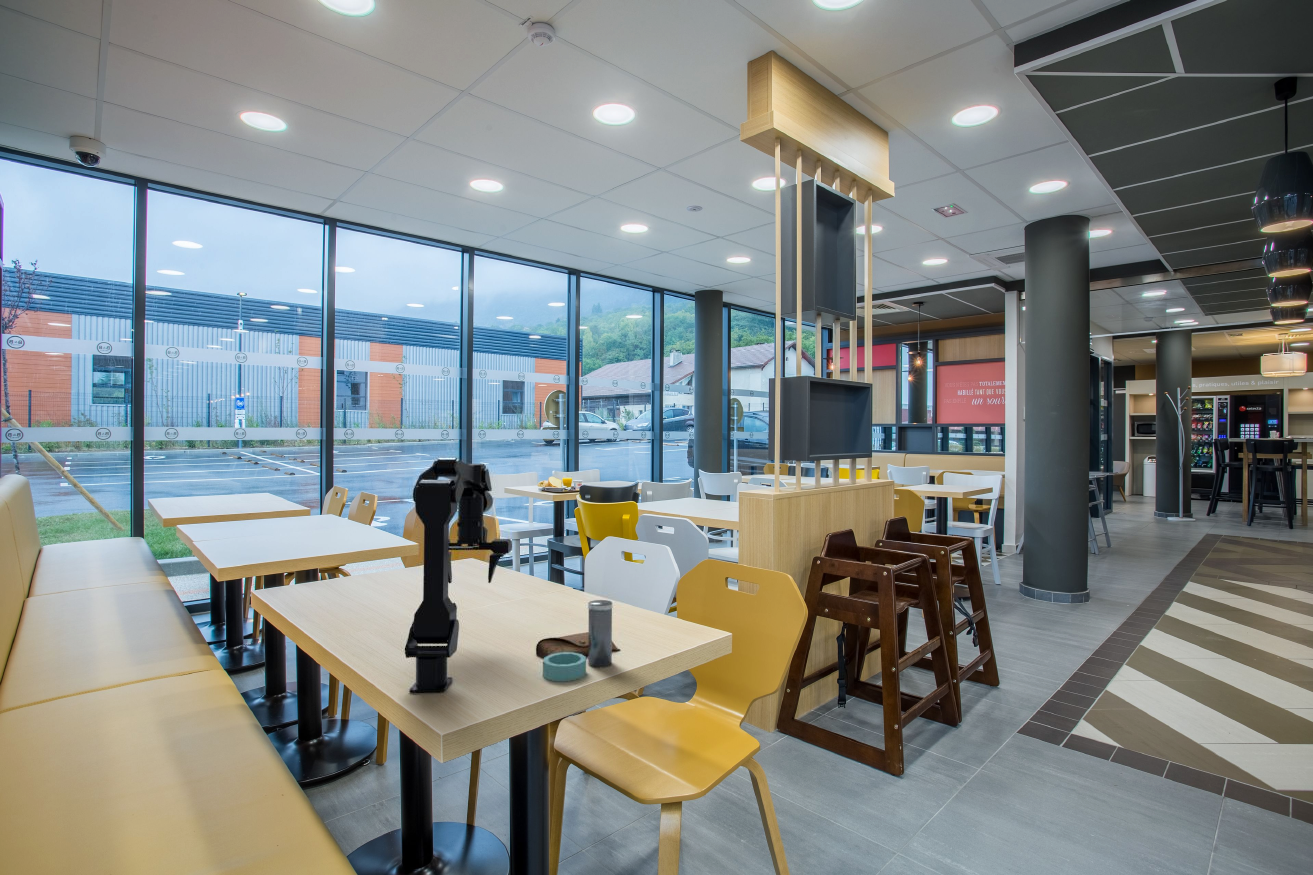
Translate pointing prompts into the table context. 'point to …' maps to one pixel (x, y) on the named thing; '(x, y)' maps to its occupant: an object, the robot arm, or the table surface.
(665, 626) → the table surface
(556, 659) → the ring
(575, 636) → the sunglasses case
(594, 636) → the cylinder
